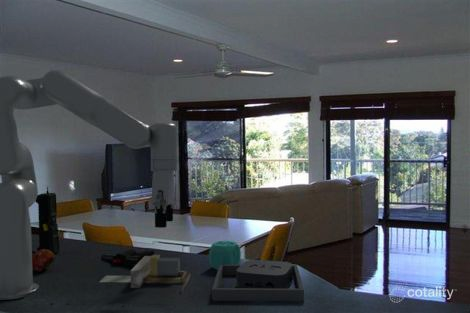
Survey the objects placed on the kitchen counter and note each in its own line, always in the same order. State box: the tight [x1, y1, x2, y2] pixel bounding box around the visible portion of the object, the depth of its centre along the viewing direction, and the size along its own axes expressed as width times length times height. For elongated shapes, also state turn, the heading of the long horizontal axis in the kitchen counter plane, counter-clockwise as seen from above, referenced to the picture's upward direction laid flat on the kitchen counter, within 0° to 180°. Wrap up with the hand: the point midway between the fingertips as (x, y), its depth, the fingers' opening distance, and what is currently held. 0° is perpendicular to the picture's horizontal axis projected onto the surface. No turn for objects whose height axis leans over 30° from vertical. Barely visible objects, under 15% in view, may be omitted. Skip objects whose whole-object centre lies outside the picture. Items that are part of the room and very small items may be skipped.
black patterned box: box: [100, 248, 155, 267], centre depth 161 cm, size 5×20×15 cm
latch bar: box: [150, 254, 181, 278], centre depth 139 cm, size 8×4×7 cm, turn 86°
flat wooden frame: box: [98, 256, 191, 294], centre depth 139 cm, size 26×16×6 cm, turn 87°
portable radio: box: [35, 186, 60, 255], centre depth 175 cm, size 8×6×25 cm
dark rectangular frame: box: [211, 264, 305, 302], centre depth 135 cm, size 24×24×3 cm
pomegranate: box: [32, 249, 56, 273], centre depth 154 cm, size 7×7×10 cm
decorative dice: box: [208, 240, 242, 271], centre depth 156 cm, size 8×8×8 cm
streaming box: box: [235, 259, 294, 289], centre depth 138 cm, size 14×14×5 cm
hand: (164, 224), depth 138 cm, fingers open, 9 cm apart
